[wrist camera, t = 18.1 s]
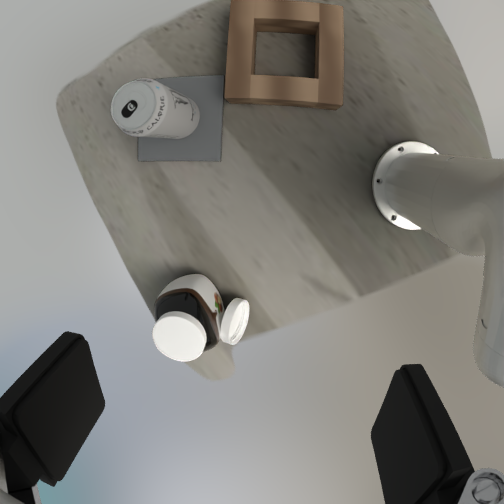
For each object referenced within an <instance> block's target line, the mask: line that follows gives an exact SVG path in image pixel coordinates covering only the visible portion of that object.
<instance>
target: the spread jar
mask: <svg viewBox="0 0 504 504" xmlns="http://www.w3.org/2000/svg"><path fill="white" fill-rule="evenodd" d="M154 314H155V321H156V324H155V326H154V328H153V331H152V337H153V341H154V343H155V345H156V347H157V348H158V349H159V350H160V351H161V353H163V354H164V355H165V356H167V357H169V358H171V359H173V360H177V361H183V362H186V361H191V360H194V359H196V358H198V357H199V356H200V355H201V353H202V352H205V351H207V350H210V349H212V348H213V347H214V346H215V345H216V344H218V342H219V340H220V338H221V339H222V341H223V342H225V343H228V344H231V345H235V344H236V343H237V342H238V341H239V340H240V339H241V337H242V335H243V333H244V331H245V328H246V325H247V322H248V318H249V303H248V301H247V300H244V299H240V298H235V299H233V300H232V301H231V302H230V304H229V305H228V307H227V309H226V311H224V305H223V301H222V297H221V295H220V292H219V290H218V289H217V287H216V286H215V285H214V283H213V282H212V281H211V280H210V279H209V278H207V277H206V276H204V275H201V274H191V275H186V276H182V277H180V278H177V279H175V280H174V281H172V282H170V283H169V284H168V285H167V286H166V287H165V288H164V289H163V290H162V292H161V293H160V294H159V296H158V297H157V300H156V302H155V307H154Z"/></svg>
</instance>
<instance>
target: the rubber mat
mask: <svg viewBox="0 0 504 504" xmlns="http://www.w3.org/2000/svg"><path fill="white" fill-rule="evenodd" d="M153 80H155V81H157V82H159V83H161V84H163V85H165V86H167V87H169V88H171V89H173V90H175V91H177V92H179V93H181V94H183V95H185V96H186V97H188V98H190V99H192V100H193V101H194V102H195V103H196V104H197V106H198V108H199V112H200V119H199V123H198V125H197V127H196V129H195V130H194V131H193V132H192V133H191V134H190V135H189V136H187V137H185V138H181V139H170V138H155V137H139V138H138V161H221V146H222V122H223V102H224V83H225V76H224V75H211V76H188V77H173V78H161V79H153Z"/></svg>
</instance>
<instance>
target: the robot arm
mask: <svg viewBox="0 0 504 504" xmlns="http://www.w3.org/2000/svg"><path fill="white" fill-rule="evenodd" d="M398 148H400V151H398ZM377 179H379V182H378V183H377ZM372 191H373V196H374V200H375V202H376V205H377V207H378V209H379V210H380V212H381V213H382V215H383V216H384V217H385V218H386V219H387V220H388V221H390V222H391V223H392V224H394V225H396V226H397V227H400V228H403V229H407V230H419V229H423V230H424V231H426V232H427V233H429V234H430V235H432V236H434V237H435V238H437V239H438V240H440V241H441V242H443V243H444V244H446V245H448V246H449V247H451V248H452V249H454V250H455V251H457V252H459V253H461V254H464V255H468V256H483V255H485V263H484V273H483V276H484V278H483V286H482V293H481V300H480V306H479V312H478V317H477V324H476V330H475V335H474V343H473V353H474V358H475V362H476V364H477V366H478V368H479V370H480V371H481V372H482V374H483V375H484V376H485V377H487V378H488V379H489V380H490V381H492V382H493V383H495V384H497V385H499V386H501V387H503V388H504V159H488V158H477V157H464V156H454V155H443V154H439V153H438V152H437V151H436V150H435V149H433V148H432V147H430V146H428V145H427V144H424V143H421V142H415V141H407V142H402V143H398V144H396V145H394V146H392V147H390V148H389V149H388V150H387V151H386V152H385V153H384V154H383V155H382V156H381V157H380V159H379V161H378V163H377V165H376V167H375V170H374V173H373V180H372ZM392 215H393V218H391V216H392ZM104 407H105V400H104V397H103V393H102V390H101V387H100V384H99V380H98V377H97V374H96V370H95V367H94V363H93V359H92V355H91V351H90V348H89V344H88V342H87V341H86V340H85V339H84V337H83V336H82V335H81V334H77V333H72V332H64V333H63V334H62V335H61V336H60V337H59V338H58V339H57V340H56V341H55V342H54V343H53V344H52V345H51V346H50V347H49V348H48V349H47V350H46V351H45V352H44V353H43V354H42V355H41V356H40V357H39V358H38V359H37V360H36V361H35V362H34V363H33V364H32V365H31V366H30V367H29V368H28V369H27V370H26V371H25V372H24V373H23V374H22V375H21V376H20V377H19V378H18V379H17V380H16V381H15V383H14V384H13V385H12V386H11V387H10V388H9V389H8V390H7V391H6V392H5V393H4V394H3V396H2V397H1V398H0V504H41V500H40V496H39V492H38V487H37V482H38V480H39V479H40V480H41V481H43V482H45V483H47V484H49V485H51V486H53V487H54V486H55V485H56V483H57V481H61V480H62V479H63V477H64V476H65V474H66V472H67V471H68V469H69V467H70V466H71V464H72V462H73V460H74V459H75V457H76V455H77V453H78V452H79V450H80V448H81V447H82V445H83V443H84V442H85V440H86V438H87V437H88V435H89V433H90V431H91V430H92V428H93V427H94V425H95V423H96V422H97V420H98V418H99V417H100V415H101V414H102V412H103V410H104ZM371 440H372V444H373V448H374V452H375V457H376V462H377V466H378V471H379V475H380V480H381V484H382V489H383V495H384V500H385V504H504V475H503V474H502V473H501V472H500V471H498V470H496V469H492V468H482V469H480V470H477V471H474V468H473V466H472V464H471V462H470V459H469V457H468V455H467V453H466V450H465V448H464V446H463V444H462V442H461V440H460V437H459V435H458V433H457V431H456V429H455V427H454V425H453V423H452V421H451V419H450V417H449V415H448V413H447V411H446V409H445V407H444V405H443V403H442V401H441V400H440V397H439V396H438V394H437V392H436V390H435V388H434V386H433V384H432V382H431V380H430V379H429V377H428V375H427V373H426V371H425V370H424V368H423V366H422V365H421V364H409V365H402V367H401V368H400V370H396V371H395V373H394V376H393V378H392V381H391V384H390V386H389V389H388V391H387V394H386V396H385V399H384V402H383V404H382V406H381V409H380V411H379V414H378V416H377V418H376V421H375V423H374V425H373V427H372V431H371Z"/></svg>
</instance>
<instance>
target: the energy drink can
mask: <svg viewBox="0 0 504 504" xmlns="http://www.w3.org/2000/svg"><path fill="white" fill-rule="evenodd" d="M111 115H112V118H113V120H114V122H115V123H116V124H117V126H118V127H119V128H120V129H121V130H122V131H123V132H124V133H126V134H128V135H131V136H137V137H155V138H170V139H181V138H185V137H187V136H189V135H190V134H191V133H192V132H193V131H194V130H195V129H196V127H197V125H198V123H199V119H200V112H199V108H198V106H197V104H196V103H195V102H194V101H193V100H192V99H190V98H188V97H186V96H185V95H183V94H181V93H179V92H177V91H175V90H173V89H171V88H169V87H167V86H165V85H163V84H161V83H159V82H157V81H155V80H153V79H149V78H140V79H136V80H134V81H131V82H128V83H126V84H124V85H123V86H121V87H120V88H119V89H118V90H117V92H116V93H115V95H114V97H113V99H112V102H111Z"/></svg>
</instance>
